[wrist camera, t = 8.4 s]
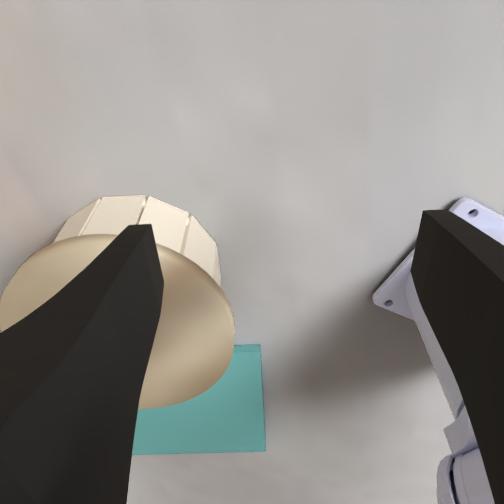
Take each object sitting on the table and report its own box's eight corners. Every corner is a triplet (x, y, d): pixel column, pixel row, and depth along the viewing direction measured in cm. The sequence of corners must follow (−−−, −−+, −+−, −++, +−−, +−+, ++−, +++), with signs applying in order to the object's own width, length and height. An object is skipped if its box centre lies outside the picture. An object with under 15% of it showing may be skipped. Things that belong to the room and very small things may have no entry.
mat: (259, 344, 30) (259, 351, 29) (265, 444, 37) (265, 451, 36) (81, 350, 30) (78, 357, 30) (120, 448, 37) (119, 455, 37)
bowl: (246, 237, 25) (245, 291, 21) (184, 338, 29) (174, 396, 26) (83, 168, 22) (50, 216, 18) (44, 290, 27) (12, 347, 23)
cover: (276, 294, 21) (281, 382, 17) (180, 414, 27) (167, 501, 23) (40, 191, 18) (-22, 270, 14) (-12, 353, 24) (-67, 442, 19)
